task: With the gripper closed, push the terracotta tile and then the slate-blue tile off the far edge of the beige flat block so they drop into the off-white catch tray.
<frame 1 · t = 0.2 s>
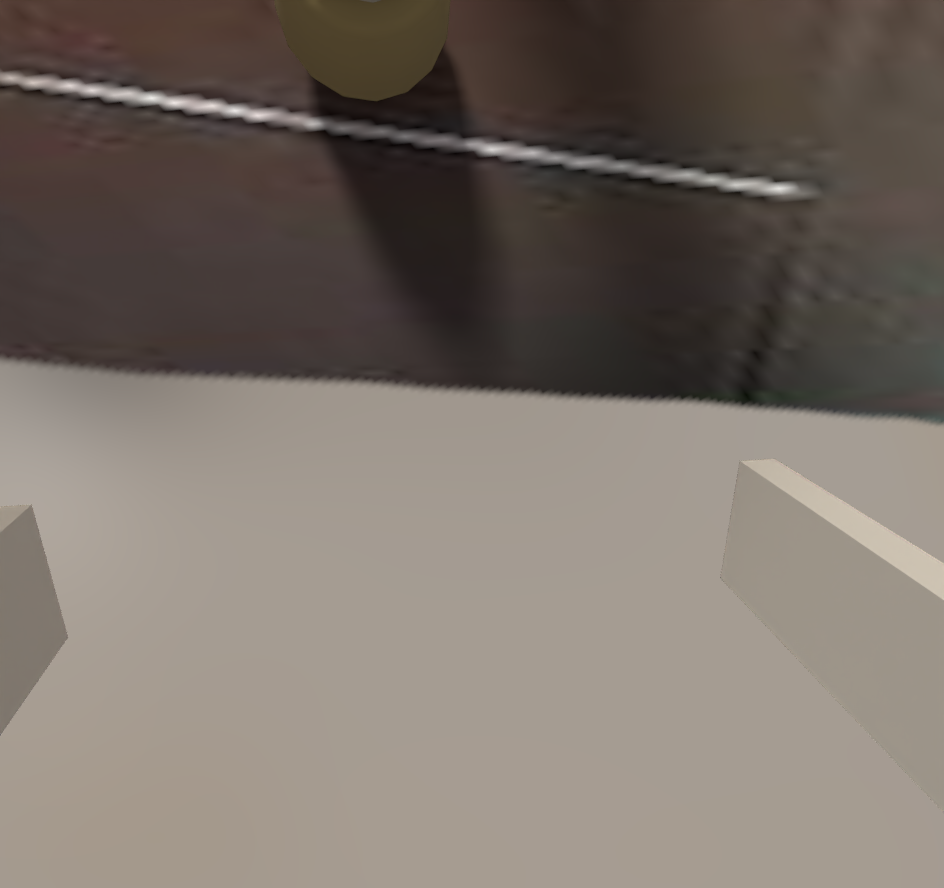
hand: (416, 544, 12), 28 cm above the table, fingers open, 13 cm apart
squeeze bottle: (364, 25, 33), on the table
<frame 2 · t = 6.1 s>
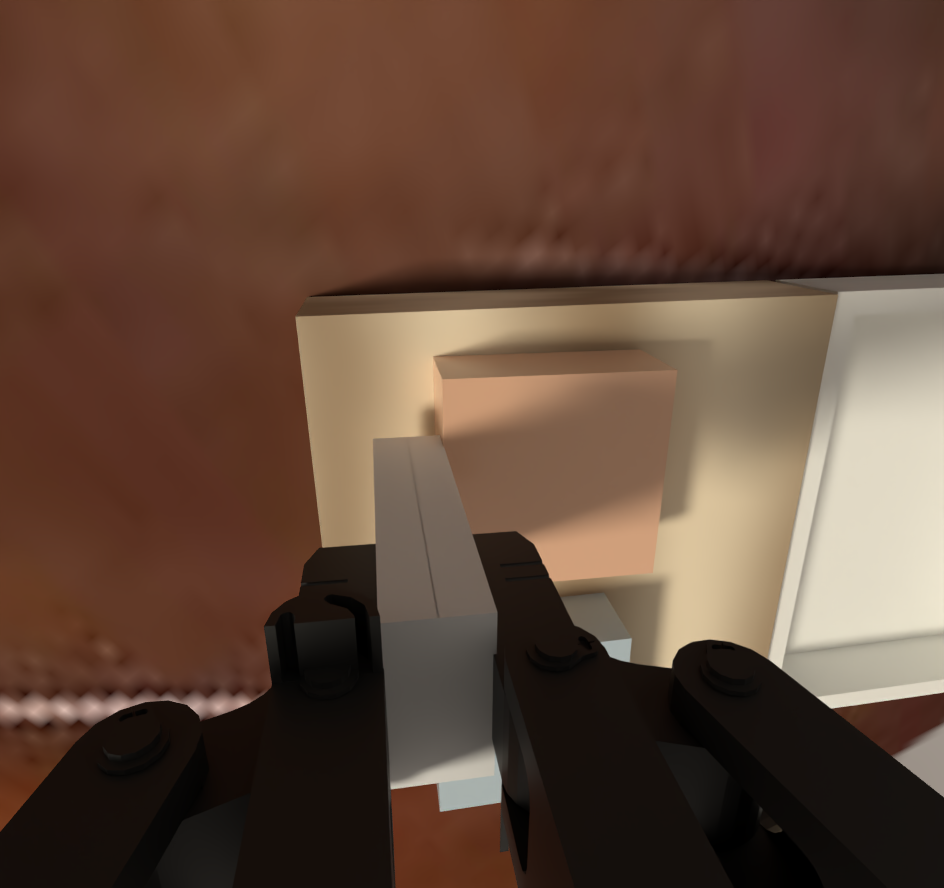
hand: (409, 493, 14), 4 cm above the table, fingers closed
catch tray: (890, 483, 22), on the table
tile slate: (515, 674, 18), point 3 cm above the table, touching beige flat block
beige flat block: (542, 514, 20), on the table
tile terracotta: (534, 451, 16), point 3 cm above the table, touching gripper
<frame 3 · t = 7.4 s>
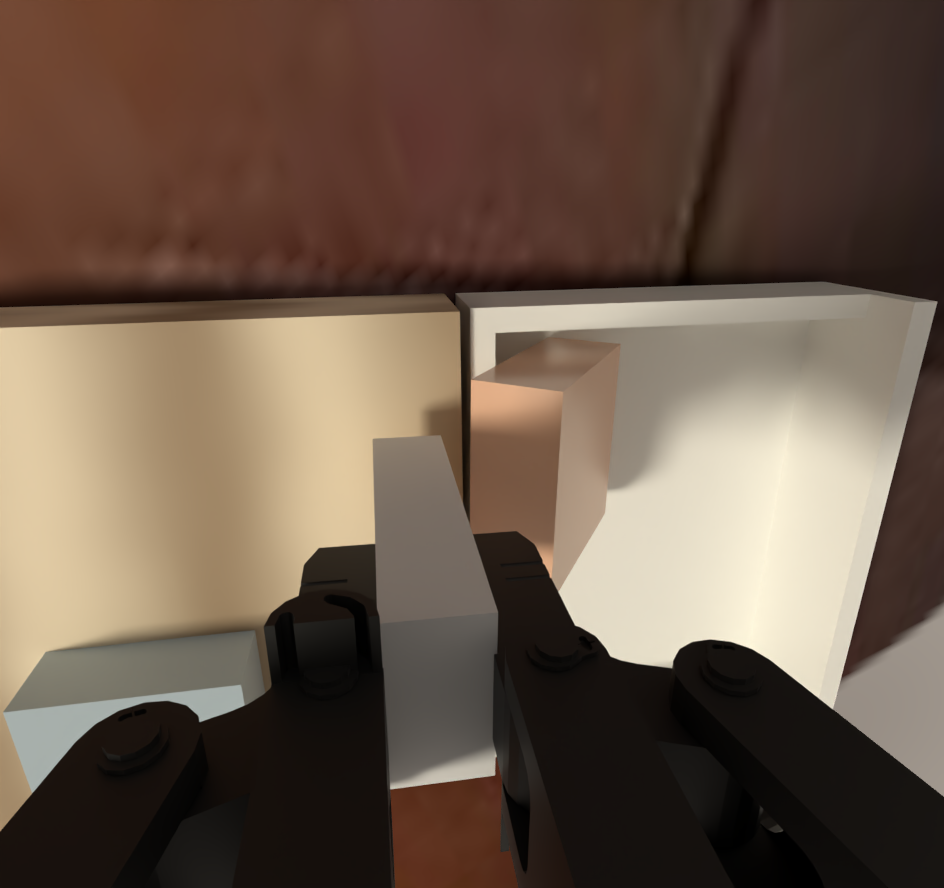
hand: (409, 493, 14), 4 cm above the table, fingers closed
catch tray: (627, 508, 20), on the table
tile slate: (170, 717, 17), point 3 cm above the table, touching beige flat block
beige flat block: (231, 541, 19), on the table
tile terracotta: (512, 451, 16), point 3 cm above the table, tilted 56°, touching catch tray
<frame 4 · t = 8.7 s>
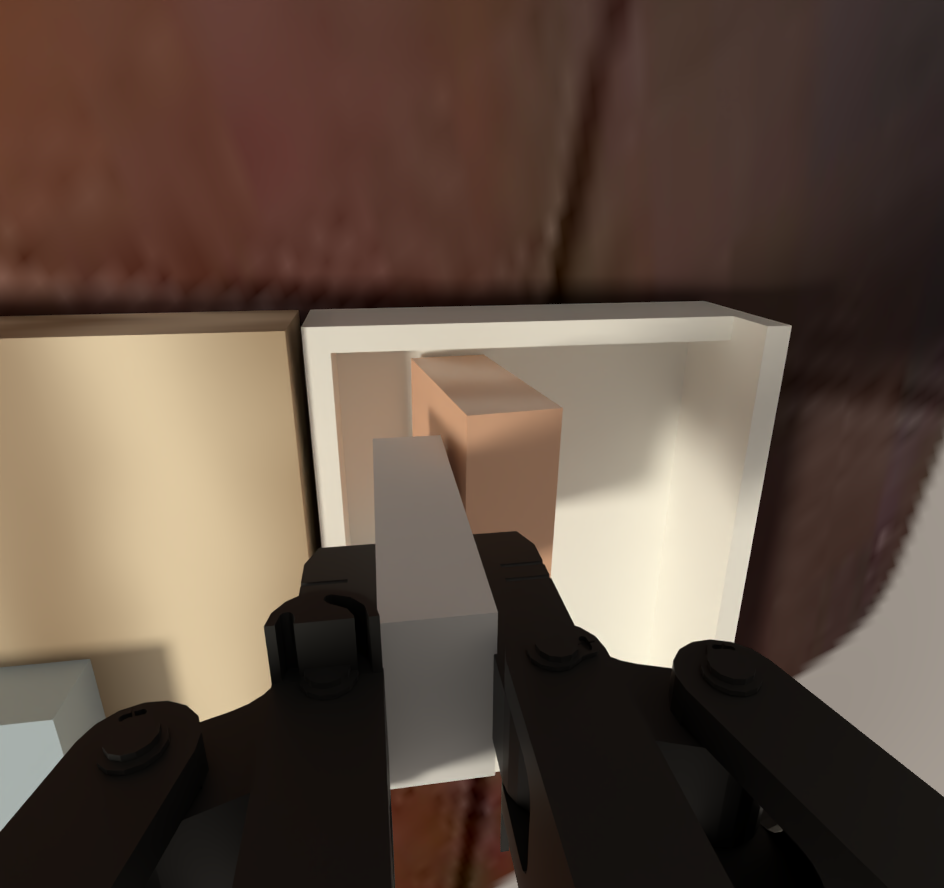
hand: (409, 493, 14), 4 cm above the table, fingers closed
catch tray: (510, 531, 20), on the table
tile slate: (6, 747, 16), point 3 cm above the table, touching beige flat block
beige flat block: (87, 563, 18), on the table
tile terracotta: (435, 483, 15), point 3 cm above the table, tilted 99°, touching catch tray, gripper
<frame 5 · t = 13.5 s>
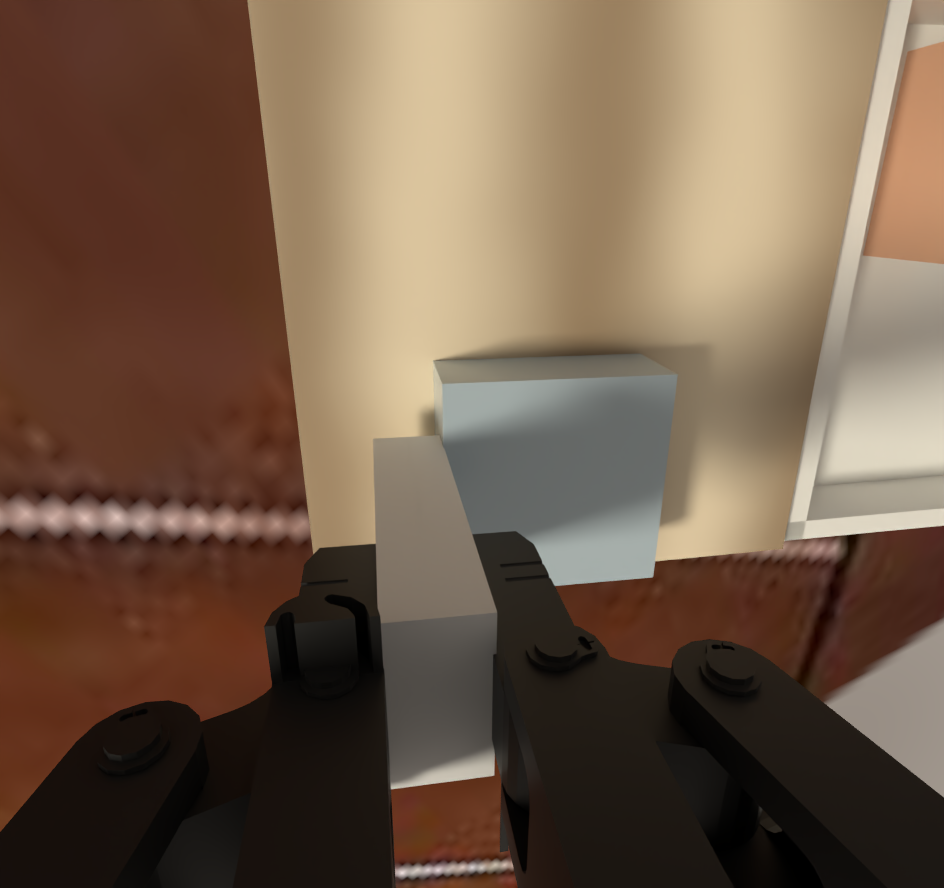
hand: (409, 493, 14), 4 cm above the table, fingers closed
catch tray: (936, 279, 19), on the table
tile slate: (535, 455, 16), point 3 cm above the table, touching gripper
beige flat block: (541, 292, 17), on the table
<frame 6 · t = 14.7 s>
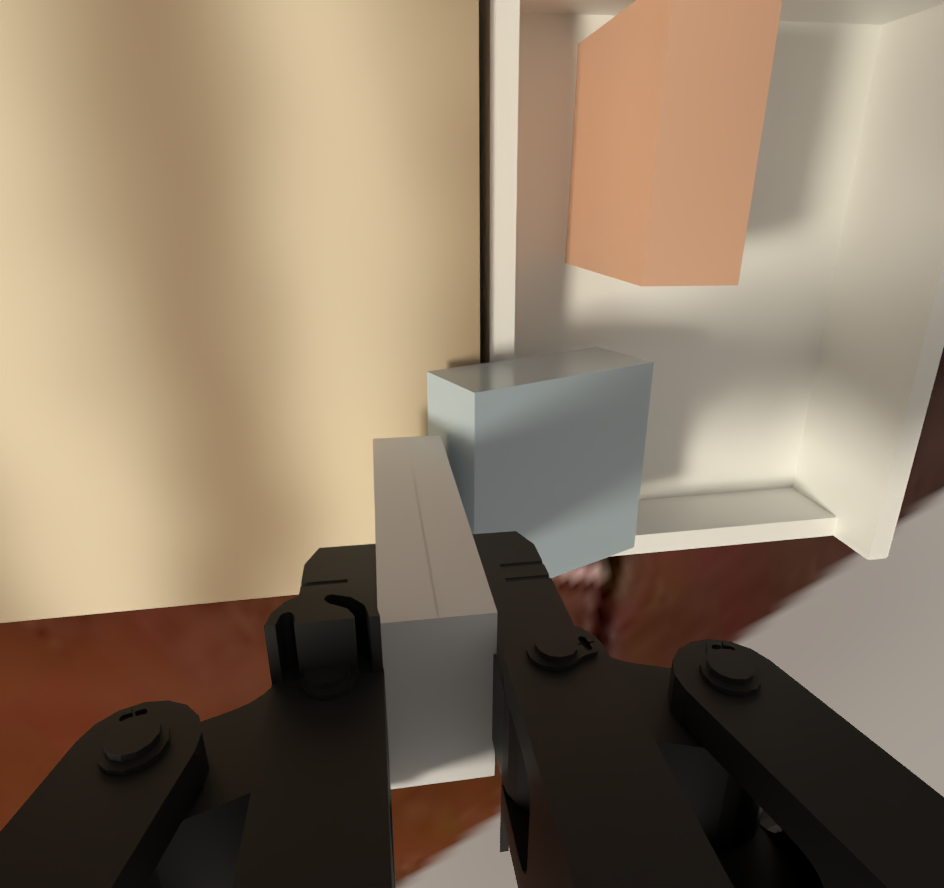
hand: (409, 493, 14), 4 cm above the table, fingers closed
catch tray: (663, 288, 18), on the table
tile slate: (515, 454, 16), point 3 cm above the table, tilted 23°
beige flat block: (210, 302, 16), on the table
tile terracotta: (606, 152, 13), point 3 cm above the table, tilted 90°, touching catch tray
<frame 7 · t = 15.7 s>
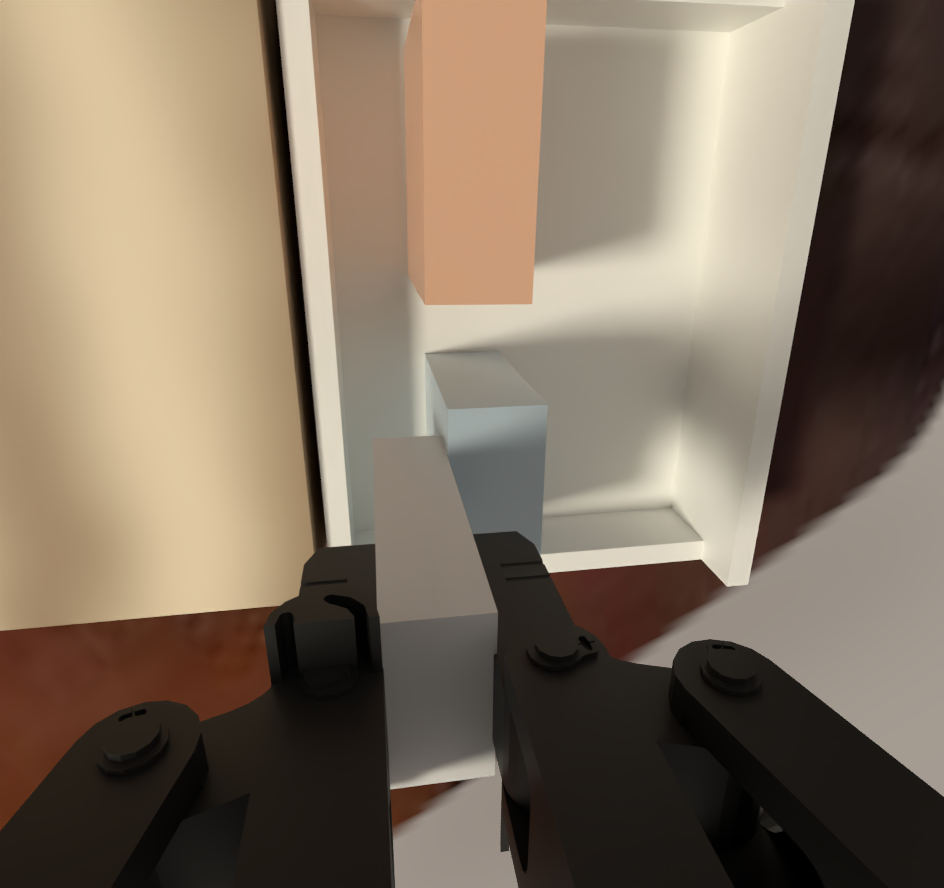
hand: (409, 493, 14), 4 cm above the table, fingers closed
catch tray: (520, 302, 17), on the table
tile slate: (436, 476, 15), point 3 cm above the table, tilted 90°, touching catch tray, gripper
beige flat block: (31, 314, 15), on the table
tile terracotta: (413, 162, 13), point 3 cm above the table, tilted 90°, touching catch tray
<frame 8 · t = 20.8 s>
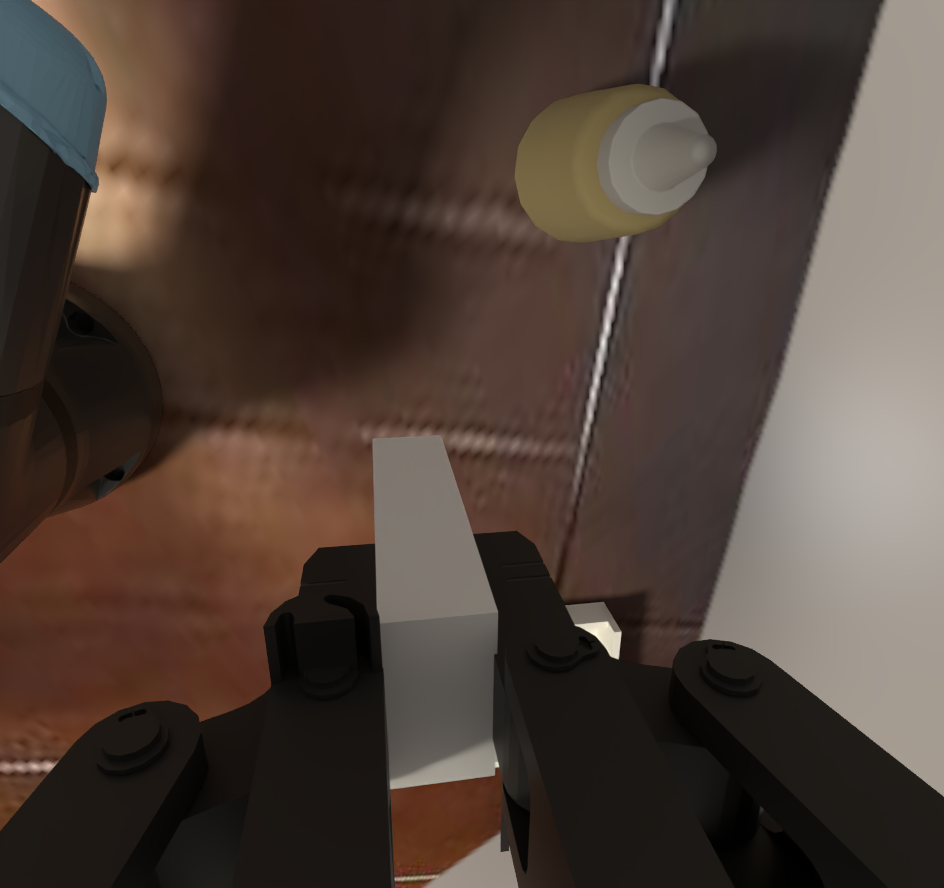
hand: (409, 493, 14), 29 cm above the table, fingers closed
catch tray: (536, 675, 54), on the table
squeeze bottle: (562, 174, 40), on the table
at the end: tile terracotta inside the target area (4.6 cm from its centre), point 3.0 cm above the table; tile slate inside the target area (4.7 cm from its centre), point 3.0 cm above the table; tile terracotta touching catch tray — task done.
